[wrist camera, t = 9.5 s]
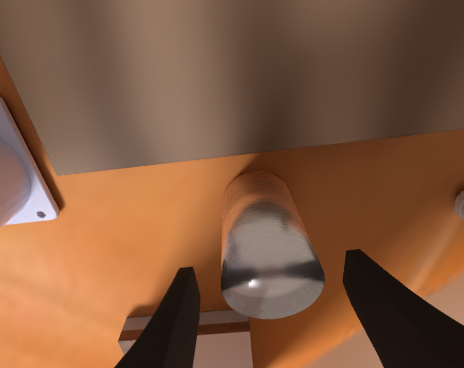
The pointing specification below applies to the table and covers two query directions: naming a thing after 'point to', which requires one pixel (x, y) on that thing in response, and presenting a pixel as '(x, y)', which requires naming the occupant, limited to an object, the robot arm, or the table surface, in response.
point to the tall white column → (207, 339)
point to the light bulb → (460, 205)
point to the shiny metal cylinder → (266, 250)
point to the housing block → (229, 75)
